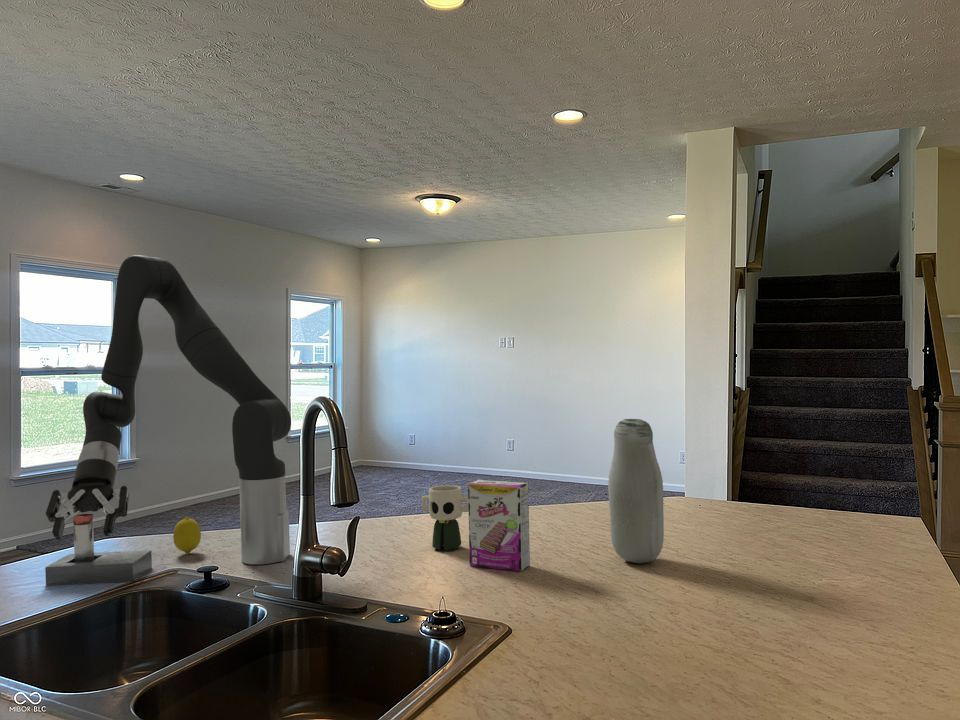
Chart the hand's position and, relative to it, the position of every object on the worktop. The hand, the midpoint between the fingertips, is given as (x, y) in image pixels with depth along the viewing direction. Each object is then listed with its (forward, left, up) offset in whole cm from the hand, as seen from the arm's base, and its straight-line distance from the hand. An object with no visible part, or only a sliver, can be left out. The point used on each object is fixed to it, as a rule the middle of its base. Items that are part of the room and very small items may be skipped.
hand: (82, 535), depth 139 cm
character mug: (-71, -10, -8) cm, 72 cm away
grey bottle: (-108, +6, -8) cm, 108 cm away
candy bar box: (-81, +5, -9) cm, 81 cm away
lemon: (-15, -15, -8) cm, 23 cm away
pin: (0, -1, -8) cm, 8 cm away
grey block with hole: (-3, -1, -8) cm, 9 cm away
